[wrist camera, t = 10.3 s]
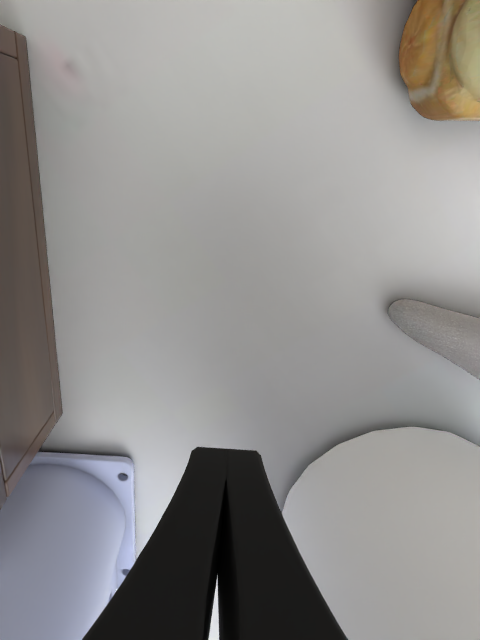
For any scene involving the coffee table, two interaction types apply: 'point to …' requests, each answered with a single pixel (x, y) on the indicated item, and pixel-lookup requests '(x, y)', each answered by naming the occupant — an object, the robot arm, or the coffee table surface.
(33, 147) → the brown wooden box
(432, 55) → the ornament
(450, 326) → the long tapered cone
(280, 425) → the coffee table surface
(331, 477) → the can
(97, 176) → the coffee table surface
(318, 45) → the coffee table surface
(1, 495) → the brown rectangular panel
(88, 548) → the robot arm
